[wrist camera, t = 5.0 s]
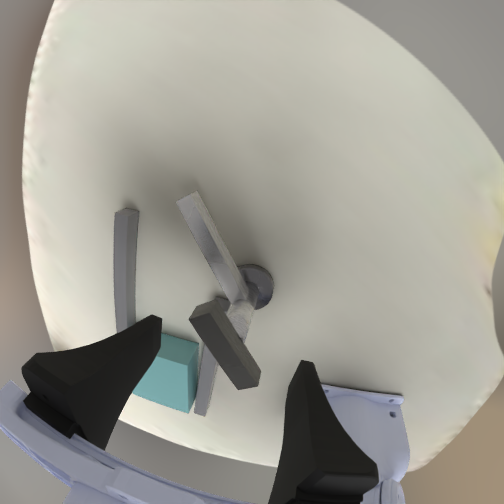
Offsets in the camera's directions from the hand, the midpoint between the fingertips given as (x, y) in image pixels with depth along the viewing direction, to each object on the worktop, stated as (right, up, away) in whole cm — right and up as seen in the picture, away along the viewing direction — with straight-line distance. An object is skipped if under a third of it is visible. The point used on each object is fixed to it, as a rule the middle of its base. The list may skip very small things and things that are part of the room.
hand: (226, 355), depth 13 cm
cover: (-7, -5, +12) cm, 14 cm away
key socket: (+1, +3, +7) cm, 8 cm away
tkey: (0, +5, +5) cm, 7 cm away
